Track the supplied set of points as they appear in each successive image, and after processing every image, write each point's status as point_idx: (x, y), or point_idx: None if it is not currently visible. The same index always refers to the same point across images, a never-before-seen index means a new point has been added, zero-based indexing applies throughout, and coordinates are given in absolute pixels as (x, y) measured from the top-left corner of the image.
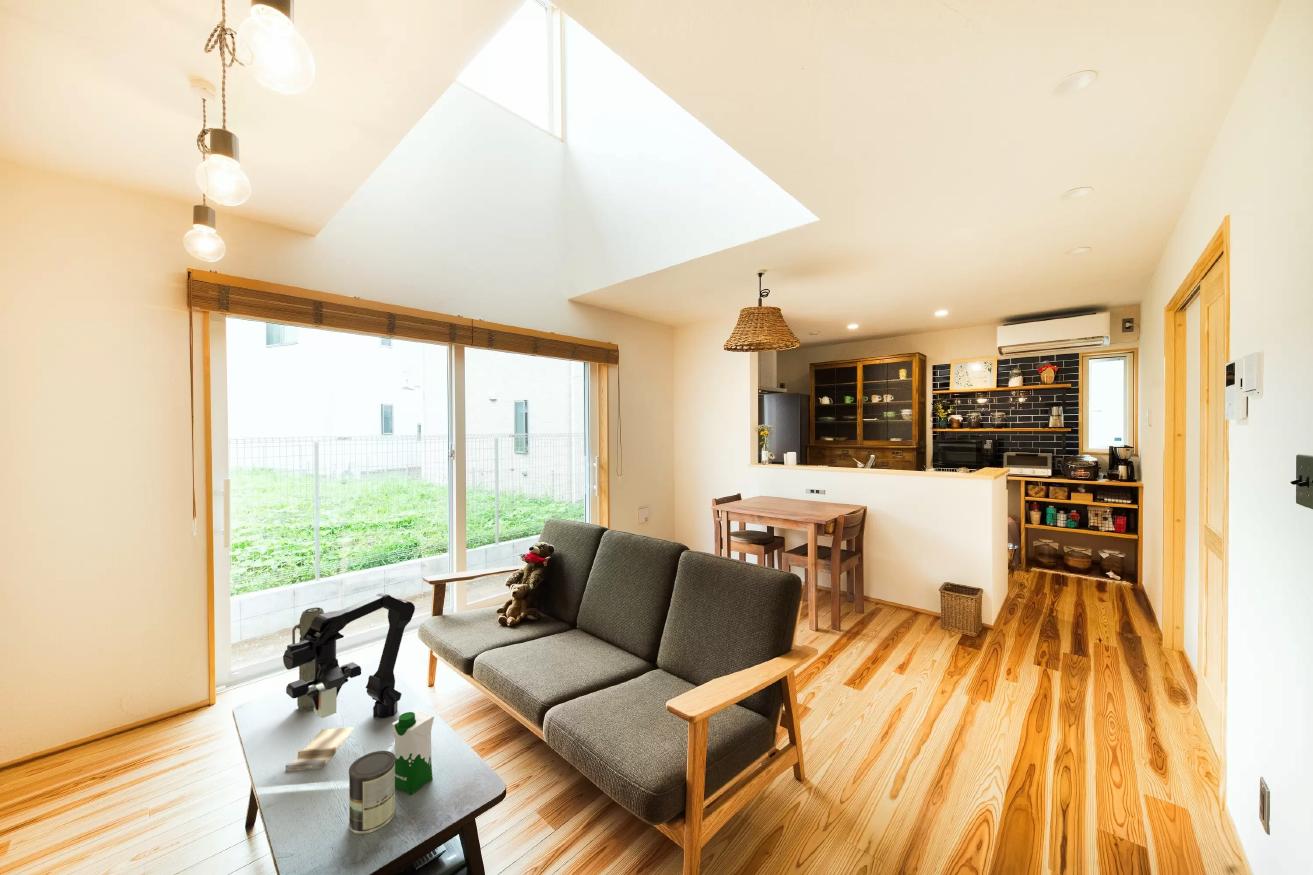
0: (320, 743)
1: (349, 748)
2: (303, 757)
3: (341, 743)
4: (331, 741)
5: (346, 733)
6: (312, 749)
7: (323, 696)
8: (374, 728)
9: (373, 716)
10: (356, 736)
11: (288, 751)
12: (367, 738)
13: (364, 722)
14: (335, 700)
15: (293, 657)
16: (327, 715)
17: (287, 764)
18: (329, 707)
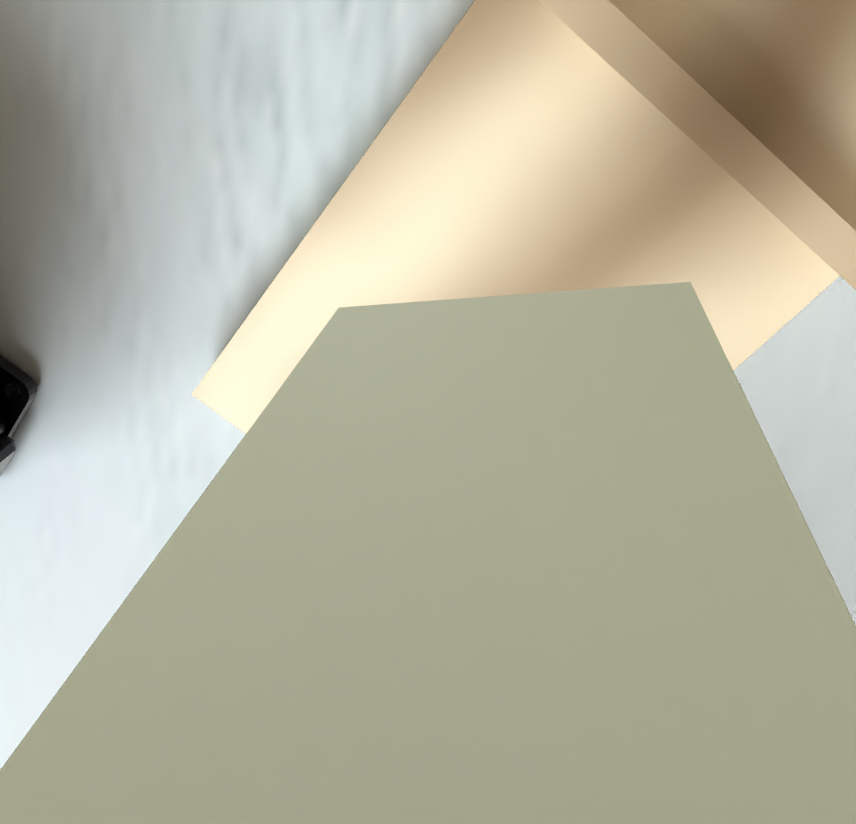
0: None
1: (327, 44)
2: (836, 168)
3: (388, 137)
4: (467, 285)
5: (292, 330)
6: (746, 166)
7: (813, 773)
8: (31, 274)
9: (1, 453)
10: (215, 259)
11: (818, 508)
12: (118, 113)
13: (110, 466)
14: (251, 473)
15: None
16: (545, 301)
17: None
18: (482, 384)
